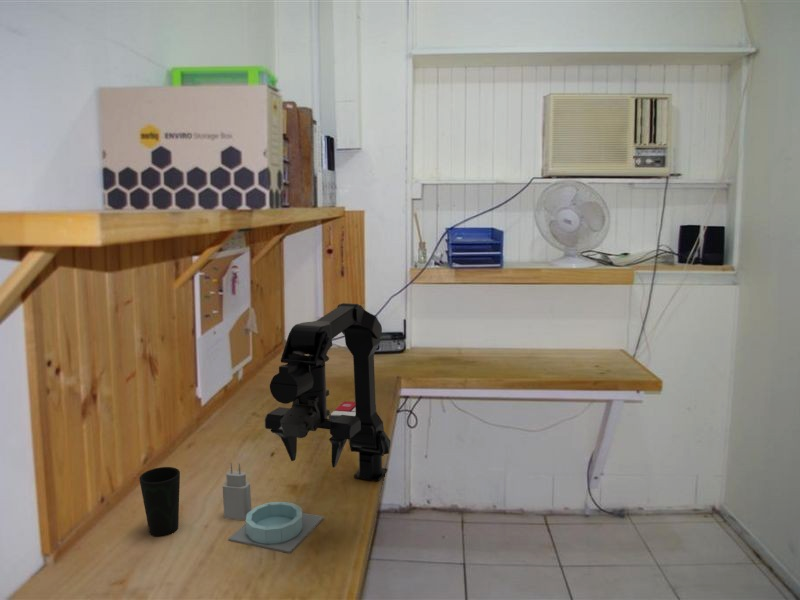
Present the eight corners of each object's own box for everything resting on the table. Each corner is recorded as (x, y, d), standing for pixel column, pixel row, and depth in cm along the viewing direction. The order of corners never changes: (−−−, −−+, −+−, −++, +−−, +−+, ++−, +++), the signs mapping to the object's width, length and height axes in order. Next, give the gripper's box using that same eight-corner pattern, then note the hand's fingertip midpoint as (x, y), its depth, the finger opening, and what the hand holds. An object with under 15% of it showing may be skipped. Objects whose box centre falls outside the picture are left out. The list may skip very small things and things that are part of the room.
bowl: (266, 512, 133) (265, 498, 133) (312, 521, 129) (311, 506, 129) (235, 538, 123) (234, 523, 122) (284, 548, 119) (283, 533, 118)
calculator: (376, 401, 197) (364, 415, 182) (376, 415, 197) (364, 429, 183) (343, 399, 199) (328, 413, 185) (343, 412, 200) (328, 427, 185)
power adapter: (229, 511, 135) (226, 458, 133) (252, 513, 134) (250, 460, 132) (222, 518, 132) (219, 464, 130) (246, 520, 131) (243, 466, 129)
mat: (266, 507, 136) (266, 506, 136) (323, 518, 131) (323, 516, 131) (228, 540, 123) (228, 538, 123) (289, 553, 118) (289, 551, 118)
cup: (188, 519, 131) (184, 466, 129) (176, 539, 124) (172, 482, 122) (151, 520, 131) (147, 467, 129) (137, 540, 123) (133, 483, 121)
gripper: (246, 395, 117) (250, 473, 119) (335, 405, 110) (337, 488, 113) (278, 379, 127) (281, 451, 130) (361, 388, 121) (362, 464, 123)
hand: (313, 463), depth 123 cm, fingers open, 9 cm apart
